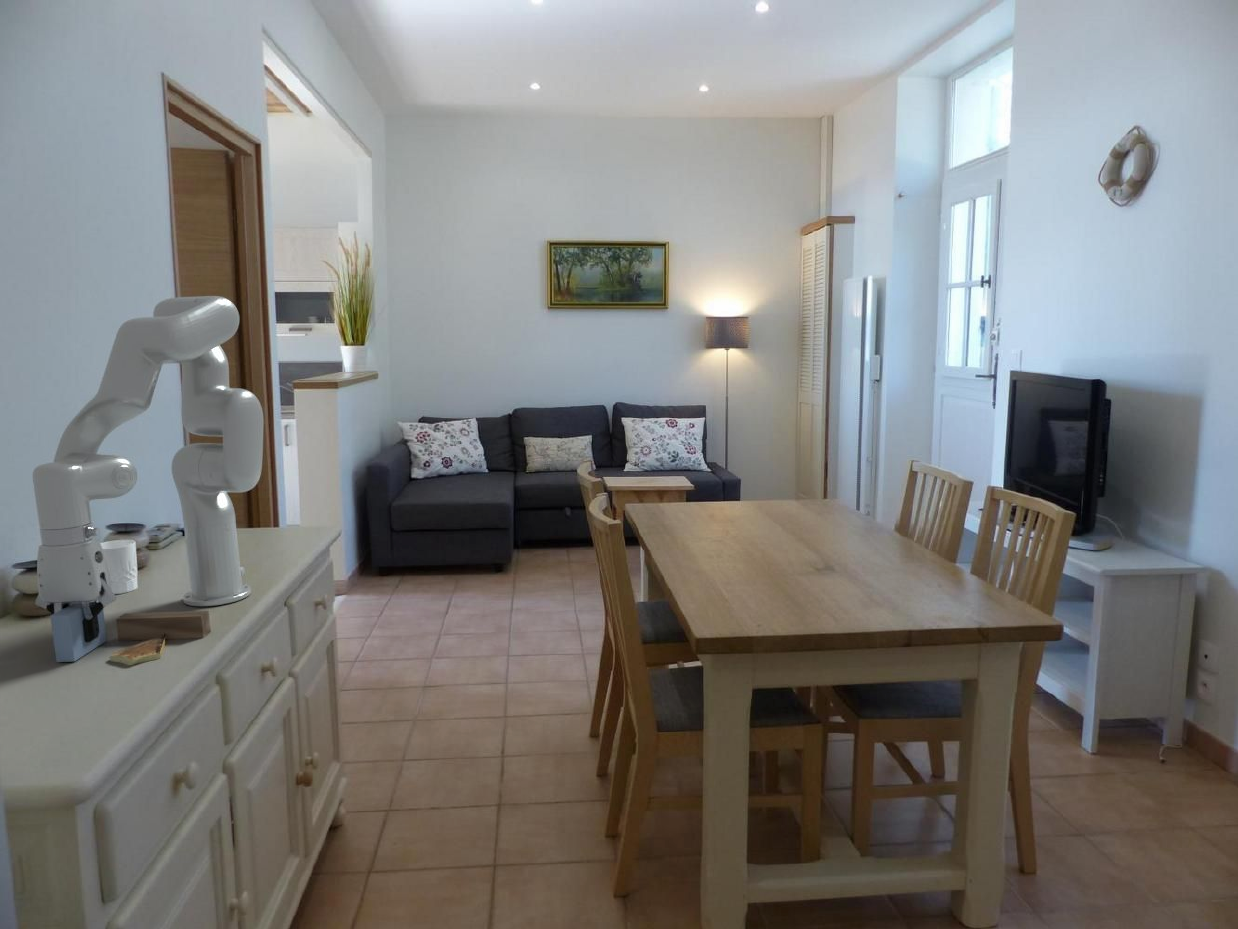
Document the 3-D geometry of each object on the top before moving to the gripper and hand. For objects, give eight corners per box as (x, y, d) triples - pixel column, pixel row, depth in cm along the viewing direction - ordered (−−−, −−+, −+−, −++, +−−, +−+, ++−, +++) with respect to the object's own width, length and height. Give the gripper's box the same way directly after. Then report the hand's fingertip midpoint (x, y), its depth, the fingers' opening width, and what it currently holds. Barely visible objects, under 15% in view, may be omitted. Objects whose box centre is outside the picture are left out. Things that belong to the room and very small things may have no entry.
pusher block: (56, 662, 152) (50, 615, 151) (90, 640, 162) (84, 597, 161) (74, 661, 152) (68, 615, 151) (107, 640, 162) (101, 596, 161)
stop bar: (127, 634, 165) (124, 613, 164) (210, 631, 165) (208, 610, 164) (118, 640, 162) (115, 619, 161) (203, 637, 162) (201, 616, 161)
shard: (166, 641, 162) (165, 632, 162) (195, 647, 159) (194, 637, 158) (108, 663, 153) (107, 652, 152) (137, 670, 149) (136, 659, 149)
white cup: (103, 598, 188) (96, 551, 186) (95, 590, 194) (89, 544, 192) (145, 590, 193) (139, 544, 191) (136, 582, 199) (130, 537, 197)
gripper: (127, 528, 157) (140, 630, 160) (32, 532, 157) (46, 634, 160) (103, 539, 150) (117, 646, 153) (3, 542, 150) (19, 649, 153)
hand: (81, 639), depth 157 cm, fingers closed on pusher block, 3 cm apart
